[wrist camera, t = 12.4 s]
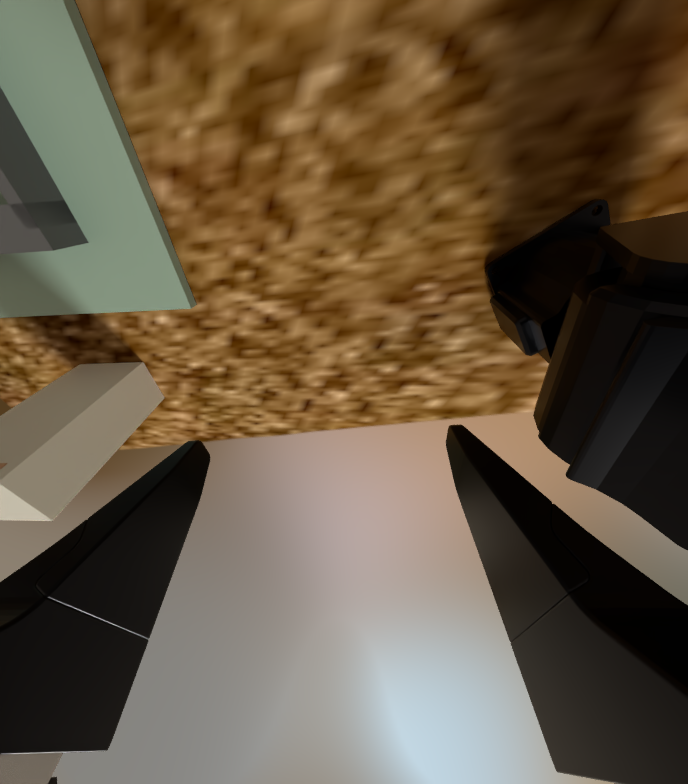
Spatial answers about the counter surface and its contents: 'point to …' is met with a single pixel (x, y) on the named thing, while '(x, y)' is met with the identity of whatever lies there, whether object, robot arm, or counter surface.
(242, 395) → the counter surface
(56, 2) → the green socket board
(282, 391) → the counter surface
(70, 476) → the plug
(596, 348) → the robot arm
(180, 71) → the counter surface
